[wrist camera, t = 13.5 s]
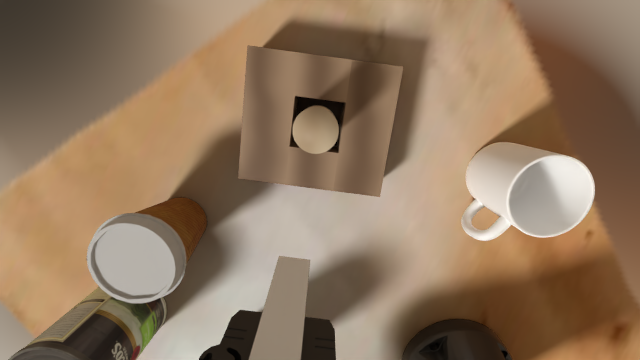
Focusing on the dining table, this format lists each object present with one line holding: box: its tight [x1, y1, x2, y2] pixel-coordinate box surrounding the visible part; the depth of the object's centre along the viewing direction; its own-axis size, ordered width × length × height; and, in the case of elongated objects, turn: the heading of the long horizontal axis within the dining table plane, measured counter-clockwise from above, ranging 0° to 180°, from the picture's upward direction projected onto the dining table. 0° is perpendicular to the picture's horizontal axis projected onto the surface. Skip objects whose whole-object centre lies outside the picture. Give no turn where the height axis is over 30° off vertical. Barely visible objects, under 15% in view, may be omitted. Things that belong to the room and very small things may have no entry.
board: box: [238, 46, 403, 197], centre depth 38 cm, size 16×14×5 cm
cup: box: [461, 142, 595, 241], centre depth 37 cm, size 8×12×10 cm
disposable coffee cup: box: [87, 197, 207, 303], centre depth 38 cm, size 10×10×12 cm
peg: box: [293, 105, 339, 154], centre depth 34 cm, size 4×4×12 cm
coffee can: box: [9, 287, 167, 360], centre depth 40 cm, size 10×10×14 cm
